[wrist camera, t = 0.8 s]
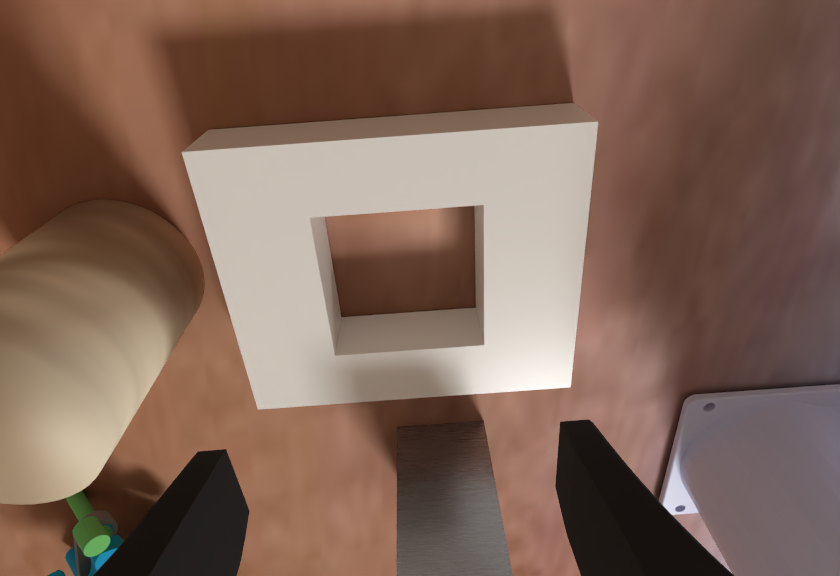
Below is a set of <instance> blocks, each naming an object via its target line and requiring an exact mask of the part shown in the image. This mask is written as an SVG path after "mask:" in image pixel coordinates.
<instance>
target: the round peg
mask: <svg viewBox="0 0 840 576" xmlns="http://www.w3.org/2000/svg"><path fill="white" fill-rule="evenodd" d="M204 286H205V282H204V273H203V269H202V265H201V263H200V260H199V258H198V256H197V254H196V252H195V250H194V249H193V247H192V246H191V244H190V243H189V242H188V240H187V239H186V238H185V237H184V236H183V235H182V234H181V232H180V231H178V230H177V229H176V228H175V227H174V226H173V225H172V224H170V223H169V222H168V221H166V220H165V219H163V218H162V217H160V216H159V215H157V214H155V213H153V212H151V211H149V210H147V209H145V208H143V207H140V206H137V205H134V204H131V203H127V202H123V201H117V200H108V199H105V200H90V201H84V202H81V203H77V204H75V205H73V206H70V207H68V208H66V209H65V210H63V211H62V212H60V213H59V214H58V215H56V216H55V217H53V218H52V219H51V220H49V221H48V222H46V223H45V224H44V225H42V226H41V227H39V228H38V229H37V230H35V231H34V232H32V233H31V234H30V235H28V236H27V237H25V238H24V239H23V240H21V241H20V242H18V243H17V244H15V245H14V246H13V247H11V248H10V249H8V250H7V251H6V252H4V253H3V254H1V255H0V503H3V504H17V505H24V504H40V503H48V502H52V501H57V500H61V499H64V498H67V497H70V496H72V495H74V494H76V493H78V492H80V491H81V490H83V489H84V488H86V487H87V486H89V485H90V484H91V483H92V482H93V481H94V480H95V479H96V478H97V476H98V475H99V473H100V472H101V470H102V468H103V467H104V465H105V463H106V462H107V460H108V458H109V457H110V455H111V453H112V452H113V450H114V448H115V447H116V445H117V443H118V442H119V440H120V438H121V437H122V435H123V433H124V432H125V430H126V428H127V427H128V425H129V423H130V422H131V420H132V418H133V417H134V415H135V413H136V412H137V410H138V408H139V407H140V405H141V403H142V402H143V400H144V398H145V396H146V395H147V393H148V391H149V390H150V388H151V386H152V385H153V383H154V381H155V380H156V378H157V376H158V375H159V373H160V371H161V370H162V368H163V366H164V365H165V363H166V361H167V360H168V358H169V356H170V355H171V353H172V351H173V350H174V348H175V346H176V345H177V343H178V341H179V340H180V338H181V336H182V335H183V333H184V331H185V330H186V328H187V326H188V325H189V323H190V321H191V319H192V318H193V316H194V314H195V313H196V311H197V309H198V308H199V306H200V304H201V301H202V298H203V294H204Z"/></svg>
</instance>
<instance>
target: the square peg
mask: <svg viewBox="0 0 840 576" xmlns="http://www.w3.org/2000/svg"><path fill="white" fill-rule="evenodd" d="M397 576H513V575H512V570H511V564H510V559H509V554H508V548H507V543H506V538H505V532H504V527H503V522H502V516H501V511H500V506H499V500H498V495H497V490H496V484H495V479H494V474H493V468H492V463H491V458H490V452H489V447H488V442H487V436H486V431H485V426H484V421H475V422H461V423H447V424H433V425H419V426H405V427H397Z"/></svg>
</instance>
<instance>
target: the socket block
mask: <svg viewBox="0 0 840 576" xmlns="http://www.w3.org/2000/svg"><path fill="white" fill-rule="evenodd" d="M597 130H598V121H597V120H596V119H595V118H593V117H592V116H591V115H589V114H588V113H587V112H585V111H584V110H583V109H581V108H580V107H579V106H577V105H576V104H575V103H566V104H552V105H538V106H525V107H511V108H498V109H484V110H471V111H457V112H443V113H430V114H416V115H403V116H389V117H376V118H362V119H348V120H335V121H321V122H308V123H294V124H281V125H267V126H253V127H240V128H226V129H213V130H208V131H206V132H205V133H204V134H203V135H202V136H200V137H199V138H198V139H197V140H196V141H194V142H193V143H192V144H191V145H190V146H188V147H187V148H186V149H185V150H184V151H182V155H183V158H184V162H185V165H186V169H187V172H188V175H189V179H190V182H191V185H192V189H193V192H194V196H195V199H196V202H197V206H198V209H199V212H200V216H201V219H202V223H203V226H204V229H205V233H206V236H207V239H208V243H209V246H210V249H211V253H212V256H213V260H214V263H215V266H216V270H217V273H218V276H219V280H220V283H221V287H222V290H223V293H224V297H225V300H226V303H227V307H228V310H229V314H230V317H231V320H232V324H233V327H234V330H235V334H236V337H237V341H238V344H239V347H240V351H241V354H242V357H243V361H244V364H245V367H246V371H247V374H248V378H249V381H250V384H251V388H252V391H253V394H254V398H255V401H256V405H257V408H258V409H272V408H286V407H300V406H314V405H328V404H342V403H356V402H370V401H384V400H398V399H412V398H426V397H440V396H454V395H469V394H483V393H497V392H511V391H525V390H539V389H553V388H567V387H571V378H572V368H573V359H574V349H575V340H576V330H577V321H578V311H579V302H580V292H581V283H582V273H583V264H584V254H585V245H586V235H587V225H588V216H589V206H590V197H591V187H592V178H593V168H594V159H595V149H596V140H597ZM463 206H474V212H475V289H476V308H463V309H449V310H435V311H421V312H407V313H393V314H379V315H366V316H352V317H341V311H340V306H339V300H338V294H337V288H336V282H335V276H334V270H333V264H332V258H331V252H330V246H329V240H328V234H327V228H326V222H325V217H326V216H339V215H353V214H367V213H381V212H394V211H408V210H422V209H436V208H449V207H463Z"/></svg>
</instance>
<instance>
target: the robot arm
mask: <svg viewBox="0 0 840 576" xmlns="http://www.w3.org/2000/svg"><path fill="white" fill-rule="evenodd" d="M708 403H709V404H708ZM706 404H707V405H706ZM556 490H557V495H558V499H559V503H560V508H561V512H562V516H563V520H564V525H565V529H566V533H567V536H568V539H569V542H570V545H571V548H572V551H573V553H574V556H575V559H576V562H577V565H578V568H579V571H580V574H581V576H840V384H835V385H821V386H806V387H792V388H778V389H764V390H750V391H736V392H722V393H708V394H695V395H691V396H689V397H688V398H687V399H686V400H685V401H684V403H683V407H682V411H681V415H680V419H679V423H678V427H677V431H676V435H675V438H674V442H673V446H672V450H671V454H670V458H669V462H668V466H667V470H666V474H665V478H664V482H663V486H662V490H661V494H660V498H659V501H658V500H657V498H656V497H655V496H654V495H653V494H652V493H651V492H650V491H649V490H648V489H647V487H646V486H645V485H644V484H643V483H642V482H641V481H640V480H639V478H638V477H637V476H636V475H635V474H634V473H633V472H632V470H631V469H630V468H629V467H628V466H627V464H626V463H625V462H624V461H623V460H622V458H621V457H620V456H619V455H618V454H617V452H616V451H615V450H614V449H613V447H612V446H611V445H610V444H609V442H608V441H607V440H606V439H605V437H604V436H603V435H602V434H601V432H600V431H599V430H598V428H597V427H596V426H595V425H594V423H593V422H591V421H590V420H578V421H565V422H560V433H559V446H558V460H557V474H556ZM689 513H699V514H700V516H701V517H702V519H703V521H704V523H705V525H706V527H707V528H708V530H709V532H710V534H711V536H712V537H713V539H714V541H715V543H716V545H717V546H718V548H719V550H720V552H721V554H722V556H723V557H724V559H725V561H726V563H727V565H728V566H729V568H730V570H731V572H732V573H731V572H730V571H728V570H727V569H726V568H725V567H724V566H723V565H722V564H721V563H720V562H719V561H718V560H717V559H716V558H714V557H713V556H712V555H711V554H710V553H709V552H708V551H707V550H706V549H705V548H704V547H703V546H702V545H701V544H700V543H699V542H698V541H697V540H696V539H695V538H694V537H693V536H692V535H691V534H690V533H689V532H688V531H687V530H686V529H685V528H684V527H683V526H682V525H681V524H680V523H679V522H678V521H677V520H676V519H675V518H674V517H673V516H672V515H675V514H689ZM248 516H249V509H248V506H247V503H246V501H245V498H244V496H243V493H242V490H241V488H240V485H239V482H238V480H237V477H236V475H235V472H234V469H233V467H232V464H231V461H230V459H229V456H228V454H227V451H226V449H225V450H212V451H200V452H197V453H196V455H195V456H194V457H193V458H192V459H191V461H190V462H189V463H188V464H187V465H186V467H185V468H184V469H183V470H182V471H181V473H180V474H179V475H178V476H177V478H176V479H175V480H174V481H173V483H172V484H171V485H170V486H169V487H168V489H167V490H166V491H165V492H164V494H163V495H162V496H161V497H160V498H159V500H158V501H157V502H156V503H155V505H154V506H153V507H152V508H151V509H150V511H149V512H148V513H147V514H146V515H145V517H144V518H143V519H142V520H141V521H140V523H139V524H138V525H137V526H136V527H135V528H134V530H133V531H132V532H131V533H130V534H129V536H128V537H127V538H126V539H125V540H124V541H123V543H122V544H121V545H120V546H119V547H118V548H117V550H116V551H115V552H114V553H113V554H112V555H111V556H110V557H109V558H108V560H107V561H106V562H105V563H104V564H103V565H102V566H101V567H100V568H99V569H98V571H97V572H96V573H95V574H94V575H93V576H237V572H238V568H239V565H240V561H241V557H242V551H243V546H244V540H245V535H246V528H247V522H248Z"/></svg>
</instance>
